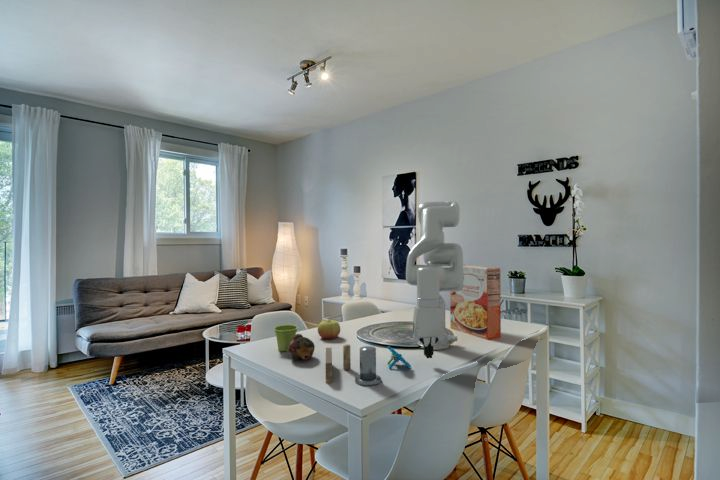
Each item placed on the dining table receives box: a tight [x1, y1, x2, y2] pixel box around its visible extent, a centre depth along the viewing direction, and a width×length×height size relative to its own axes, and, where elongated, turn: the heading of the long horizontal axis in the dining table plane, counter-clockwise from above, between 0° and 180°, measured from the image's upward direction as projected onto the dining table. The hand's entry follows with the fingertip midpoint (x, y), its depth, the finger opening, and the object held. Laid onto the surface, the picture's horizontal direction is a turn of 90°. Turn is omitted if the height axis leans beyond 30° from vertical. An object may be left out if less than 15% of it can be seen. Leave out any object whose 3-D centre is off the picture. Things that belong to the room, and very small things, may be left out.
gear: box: [387, 345, 412, 370], centre depth 129 cm, size 11×6×10 cm
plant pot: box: [273, 324, 299, 352], centre depth 151 cm, size 9×9×9 cm
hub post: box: [354, 345, 382, 387], centre depth 118 cm, size 8×8×10 cm
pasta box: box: [449, 264, 502, 341], centre depth 174 cm, size 23×8×30 cm, turn 28°
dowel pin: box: [342, 343, 352, 371], centre depth 128 cm, size 2×2×8 cm
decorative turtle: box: [288, 333, 316, 362], centre depth 140 cm, size 10×15×8 cm, turn 27°
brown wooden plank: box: [325, 347, 333, 384], centre depth 125 cm, size 2×16×6 cm, turn 5°
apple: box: [317, 319, 341, 340], centre depth 167 cm, size 10×10×8 cm
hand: (428, 357), depth 130 cm, fingers closed
